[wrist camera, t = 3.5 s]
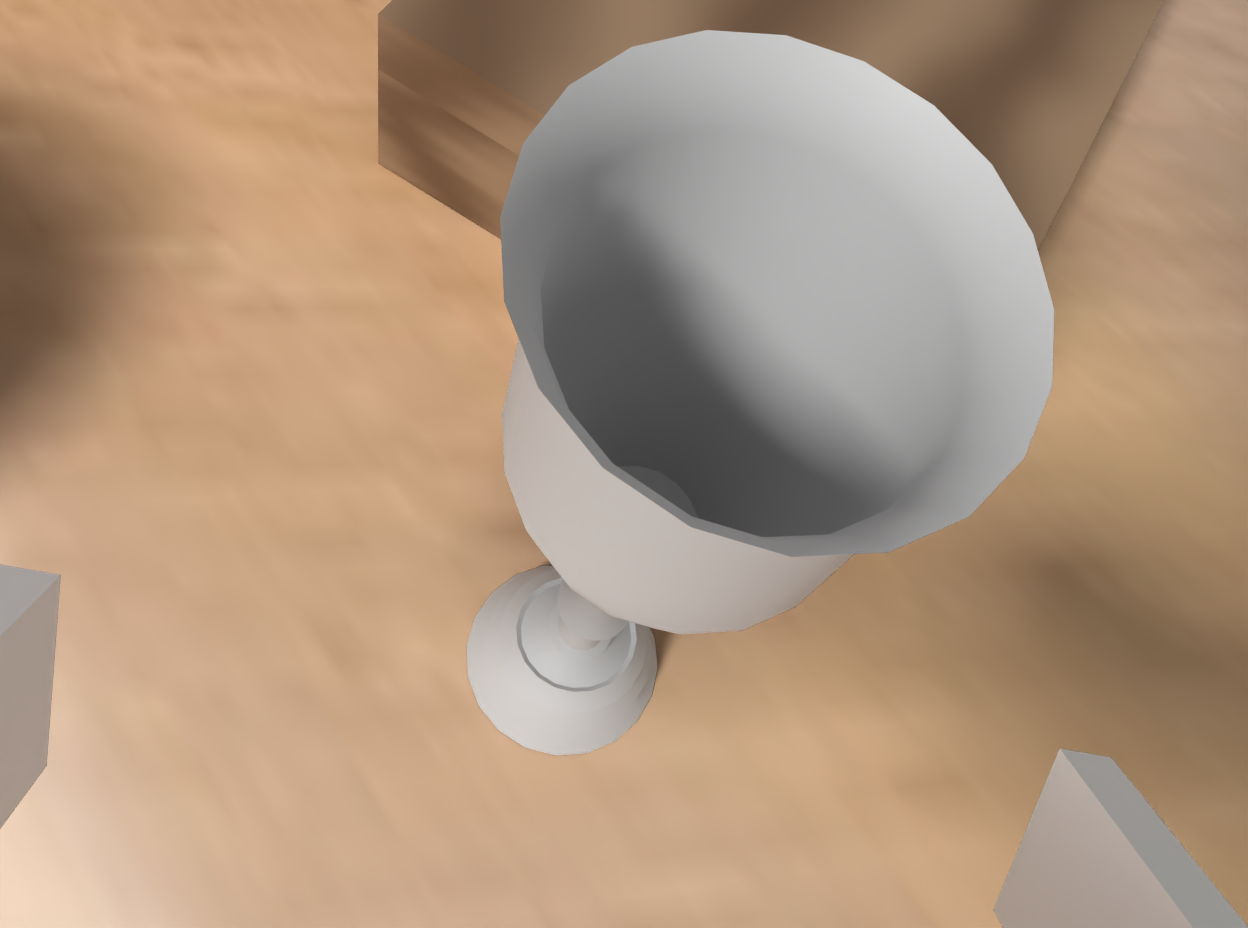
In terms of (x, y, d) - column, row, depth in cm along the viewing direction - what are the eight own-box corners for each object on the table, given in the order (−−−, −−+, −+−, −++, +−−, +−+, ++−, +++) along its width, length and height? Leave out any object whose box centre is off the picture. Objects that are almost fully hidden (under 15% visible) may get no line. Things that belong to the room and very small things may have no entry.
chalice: (450, 511, 30) (529, -16, 14) (693, 541, 31) (1024, 82, 15) (413, 788, 27) (462, 515, 11) (685, 812, 28) (1092, 595, 12)
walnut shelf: (1102, 51, 43) (1204, -80, 38) (878, 473, 33) (974, 377, 28) (708, -179, 44) (753, -338, 39) (378, 163, 34) (378, 13, 29)
